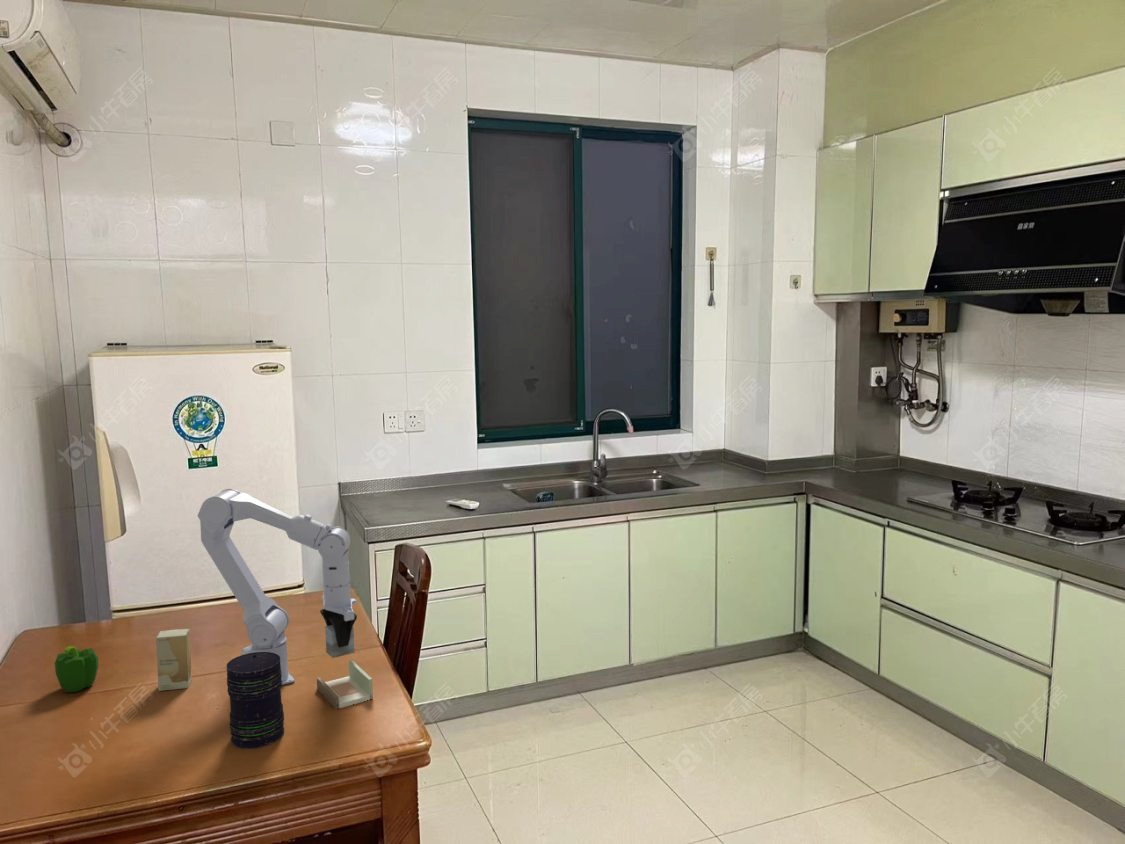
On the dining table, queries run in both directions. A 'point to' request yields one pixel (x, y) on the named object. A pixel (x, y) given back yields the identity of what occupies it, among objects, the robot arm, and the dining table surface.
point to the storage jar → (255, 700)
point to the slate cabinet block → (333, 646)
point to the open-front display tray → (347, 688)
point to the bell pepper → (76, 668)
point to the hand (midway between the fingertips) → (339, 642)
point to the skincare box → (173, 659)
